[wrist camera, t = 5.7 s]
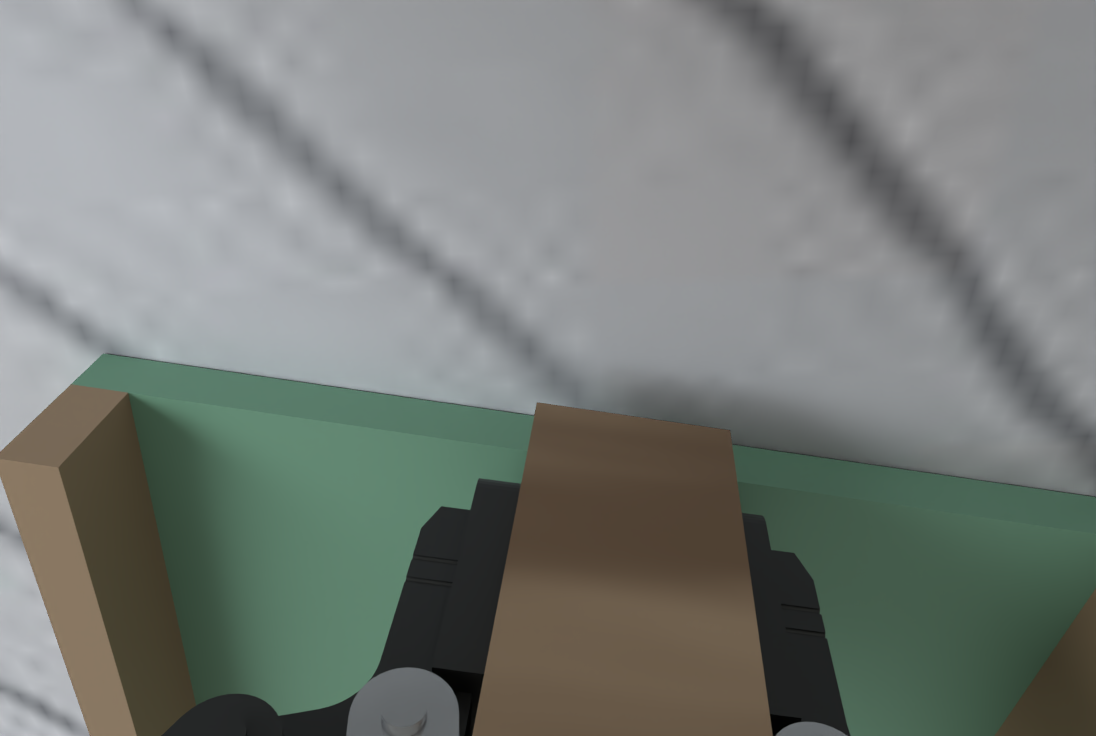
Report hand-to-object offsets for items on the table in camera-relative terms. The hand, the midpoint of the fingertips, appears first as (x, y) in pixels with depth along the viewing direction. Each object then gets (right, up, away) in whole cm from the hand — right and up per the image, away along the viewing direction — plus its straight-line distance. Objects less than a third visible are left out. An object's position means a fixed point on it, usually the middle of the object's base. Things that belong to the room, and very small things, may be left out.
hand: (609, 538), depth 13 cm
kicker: (0, -4, +3) cm, 5 cm away
